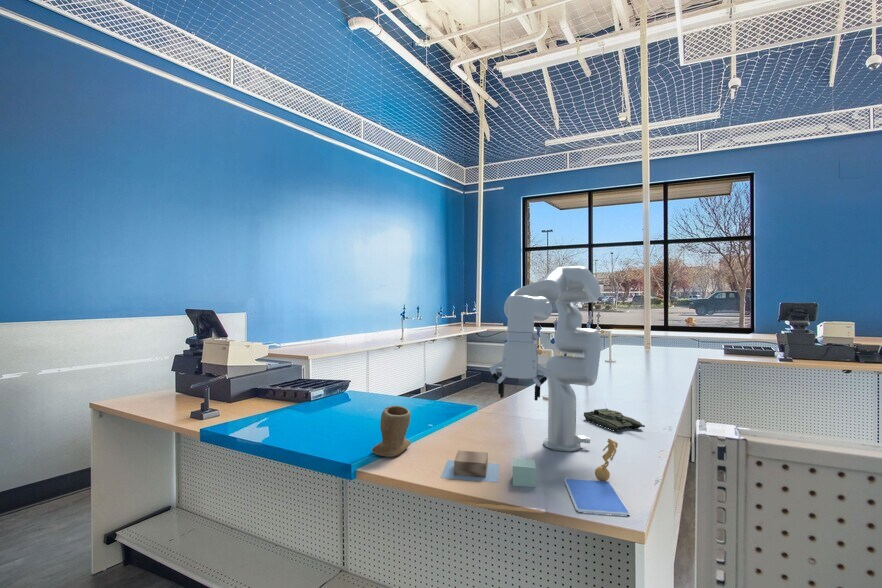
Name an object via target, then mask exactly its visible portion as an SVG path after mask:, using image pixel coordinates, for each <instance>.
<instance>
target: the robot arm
mask: <svg viewBox="0 0 882 588" xmlns="http://www.w3.org/2000/svg"><path fill="white" fill-rule="evenodd" d="M600 295H601V286H600V284H599V282H598V279H597V278H596V277H595V275H594V274H593V273H592V272H591V270H589V269H588V268H587V267H585V266H582V265H573V266H572V265H570V266H566V265H565V266H556V267H554V268H552V269H551V270H549V271H548V273H546V274H545V275H544V276H543V277H542V278H541V279H540V280H537V281H535V282H532V283H529V284H526V285H524V286H521V287H519V288H517V289H515V290H513V292H511V293H510V295H508V297H507V298H506V300H505V302H504V306H503V310H504V311H503V312H504V315H505V317H506V318H507V328H506V329H507V333H506V334H507V335H506V336H507V337H506V342H504V345H503V349H502V357H501V361H500V362H497V363H496V364H493V365H491V366H489V371H490V373H491V375H492V378H493V379H494V380H495V381H496V382H497V383H498V386H497V387H498V392H497V393H498V395H500V396H499V398H504V397H505V383H504V380H506V378H511V379H520V380H521V379H525V380H532V381H533V382H534V384H535V385H534V401H537V402H538V399H539V398H541V386H542V385H543V384H544V383H545V382H546V381H547V388H548V389H547V390H548V391H547V392H548V393H547V394H548V395H547V396H548V398H547V400H548V401H547V402H548V404H547V405H548V407H547V438H545V439H544V440H543V442H542V443H543V445H544V446H545V447H546V448H548V449H550V450H554V451H559V452H575V451H578V450H580V449H581V443H582V444H583V443H584V444H591V438H590V437H587V436H585V435H579V434H577V395H576V392H575V390H574V389H573V387H572V386H571V385H575V386H576V385H577V386H583V387H584V386H585V387H591V386H593V385H595V384H596V382H597V380H598V375H599V374H598V373H599V367H600V358H601V350H602V339H601V334H600V333H599V332H598V330H597V329H593V328H588V327H587V328H586V327H583V328H582V324H583V316H582V313H581V311H580V310H579V309H578V307H577V306H576V305H575V304H574V303H594V302H597V301H598V300H599V298H600ZM552 303H554V304H555V306H556V310H557V315H558V318H557V323H556V324H557V326H556V331H555V336H554V349H555V350H556V351H557V352H559V353H561V354H565V355H554V356H553V355H552V356H551V357H549V358H548V359H547V361H546V363H545V366H543V365H541V364H539V355H538V354H539V353H538V346H537V343H534V342H535V341H537V340H538V341H539V339H540V335H539V334H535V322H544V321H546V320H548V319H549V318H550V317H551V315H552V313H553V312H552V311H553V306H552ZM566 354H568V355H566ZM569 355H571V356H569ZM572 355H578V356H572ZM581 356H584V357H581ZM499 368H500V369H501V376H500V375H499V374H498V373H497V371H496V370H497V369H499ZM539 371H541V372H543V373H544V375H543V376H542V377H541V378H539V377H538V374H539Z"/></svg>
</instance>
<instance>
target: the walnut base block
mask: <svg viewBox="0 0 882 588" xmlns="http://www.w3.org/2000/svg"><path fill="white" fill-rule="evenodd" d="M488 457H489V455H488V452H486V451H485V452H483V451H471V450H469V451H468V450H460V449H459V450H457V452H456V455H455V457H454V459H453V460H454V475H458V476H471V477H483V478H486V473H487V467H488V463H489V461H488V460H489V458H488Z"/></svg>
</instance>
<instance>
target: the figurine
mask: <svg viewBox="0 0 882 588" xmlns="http://www.w3.org/2000/svg"><path fill="white" fill-rule="evenodd" d="M607 443H608V444H607V445H606V446H605V447H604V448H603V449H602V452H605V451H606V449H607V451H606V452H605V453H604V454H603V455H602V456H601V457H602V459H603V461H604V463H603V464H601V465H599V466H597V467H596V468H595V470H594V475H595V478H596V479H597V481H607V482H608V480H609V479H610V476H611V474H610V471H609V469H608V466H609V465H610V464H609V463H610V462H609V461H613V460H614V457H615V455H616V454H617V448H618V445H619V444H618V442H617V441H615V440H612V439H611V438H608V439H607Z"/></svg>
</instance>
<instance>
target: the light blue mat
mask: <svg viewBox="0 0 882 588" xmlns="http://www.w3.org/2000/svg"><path fill="white" fill-rule="evenodd" d="M454 460H455V459H453V460H452V459H447V461H446V464H445V466H444V468H443V471H442V473H441V476H440V478H441V479H452V480H464V481H474V482H475V481H476V482H487V483H488V482H489V483H496V484H497V483H499V475H500V463H494V462H493V463H492V462H488V467H487V473H486V478H483V477H471V476H458V475H454Z"/></svg>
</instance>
